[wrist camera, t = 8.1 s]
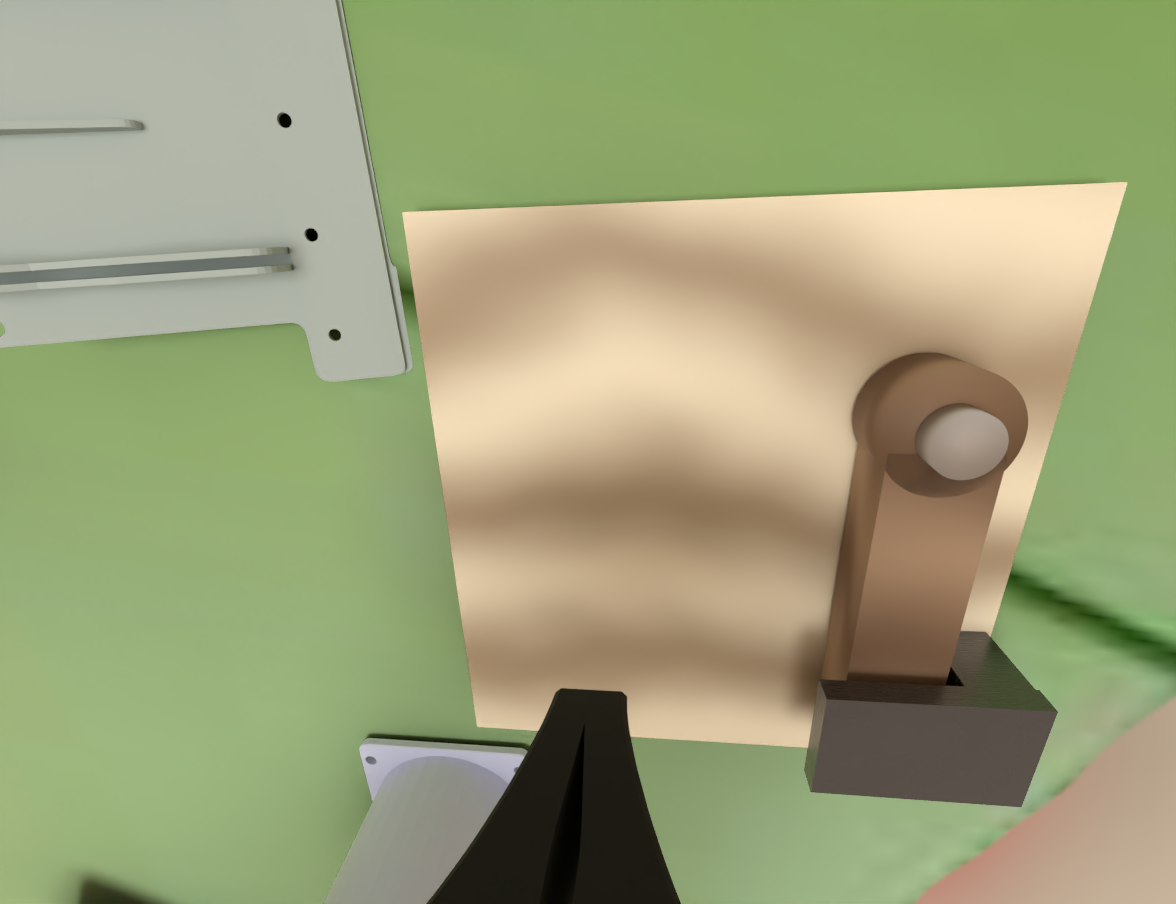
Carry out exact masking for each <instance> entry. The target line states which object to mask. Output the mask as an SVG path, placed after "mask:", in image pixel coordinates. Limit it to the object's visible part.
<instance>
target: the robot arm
mask: <svg viewBox="0 0 1176 904" xmlns="http://www.w3.org/2000/svg"><path fill="white" fill-rule="evenodd" d="M359 752H360V755H361V759H362V763H363V767H364V771H365V775H366V778H367V782H368V786H369V790H370V794H371V798H372V804H371V806H370V808H369V810H368V813H367V815H366V817H365V819H364V821H363V823H362V825H361V827H360V829H359V831H358V833H357V835H356V837H355V839H354V841H353V843H352V846H351V848H350V850H349V852H348V854H347V856H346V858H345V860H344V862H343V864H342V866H341V868H340V870H339V872H338V874H337V876H336V879H335V881H334V883H333V885H332V887H331V889H330V891H329V893H328V895H327V897H326V899H325V901H324V903H323V904H681V903H680V901H679V898H678V895H677V893H676V890H675V888H674V885H673V882H672V880H671V877H670V874H669V871H668V869H667V866H666V863H665V860H664V857H663V854H662V851H661V848H660V845H659V842H658V839H657V836H656V833H655V830H654V827H653V824H652V821H651V817H650V814H649V811H648V808H647V804H646V800H645V797H644V793H643V789H642V786H641V782H640V778H639V774H638V771H637V766H636V762H635V758H634V753H633V748H632V742H631V737H630V731H629V724H628V714H627V696H626V695H625V694H624V693H623V692H622V691H604V690H585V689H567V688H560V689H559V690H558V691H557V692H555V695H554V697H553V700H552V703H551V705H550V707H549V709H548V712H547V714H546V716H545V718H544V720H543V722H542V725H541V727H540V729H539V731H538V733H537V735H536V736H535V738H534V740H533V742H532V744H531V746H530V748H529V750H528V751H527V750H525V749H523V748H515V747H500V746H485V745H470V744H455V743H440V742H424V741H409V740H394V739H379V738H367V739H365V740H364V741H363V742H362V744H361V746H360V748H359Z"/></svg>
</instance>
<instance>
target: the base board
mask: <svg viewBox="0 0 1176 904" xmlns="http://www.w3.org/2000/svg"><path fill="white" fill-rule="evenodd" d="M1127 183H1128V182H1119V183H1095V184H1071V185H1047V186H1023V187H999V188H974V189H950V190H926V191H902V192H878V193H854V194H830V195H806V196H782V197H758V198H733V199H709V200H685V201H661V202H637V203H613V204H589V205H565V206H541V207H517V208H493V209H468V210H444V211H420V212H402V214H403V221H404V228H405V234H406V241H407V248H408V255H409V262H410V269H411V276H412V283H413V289H414V296H415V303H416V310H417V317H418V324H419V331H420V337H421V344H422V351H423V358H424V365H425V372H426V379H427V386H428V392H429V399H430V406H431V413H432V420H433V427H434V434H435V440H436V447H437V454H438V461H439V468H440V475H441V482H442V489H443V495H444V502H445V509H446V516H447V523H448V530H449V537H450V543H451V550H452V557H453V564H454V571H455V578H456V585H457V592H458V598H459V605H460V612H461V619H462V626H463V633H464V640H465V646H466V653H467V660H468V667H469V674H470V681H471V688H472V695H473V701H474V708H475V715H476V722H477V727H486V728H502V729H518V730H534V731H539V729H540V727H541V725H542V722H543V720H544V718H545V716H546V714H547V712H548V709H549V707H550V705H551V703H552V700H553V697H554V695H555V692H557V691H558V690H559V689H560V688H567V689H585V690H604V691H622V692H623V693H624V694H625V695H626V696H627V714H628V724H629V731H630V737H645V738H661V739H677V740H693V741H709V742H724V743H740V744H756V745H772V746H788V747H804V748H808V744H809V738H810V732H811V725H812V719H813V713H814V707H815V701H816V694H817V688H818V682H819V679H821V673H822V667H823V661H824V655H825V649H826V643H827V636H828V630H829V624H830V618H831V612H832V605H833V599H834V593H835V587H836V581H837V574H838V568H839V562H840V556H841V550H842V544H843V537H844V531H845V525H846V519H847V513H848V506H849V500H850V494H851V488H852V482H853V476H854V469H855V463H856V457H857V451H858V445H859V444H858V442H857V440H856V438H855V435H854V430H853V421H852V420H853V411H854V407H855V404H856V401H857V398H858V396H859V394H860V393H861V391H862V389H863V388H864V386H865V385H866V384H867V382H868V381H869V380H870V379H871V378H872V377H873V376H874V375H875V374H876V373H877V372H878V371H880V370H881V369H882V368H884V367H885V366H887V365H888V364H890V363H892V362H894V361H896V360H898V359H900V358H903V357H906V356H909V355H913V354H918V353H940V354H946V355H949V356H952V357H955V358H957V359H960V360H962V361H965V362H967V363H970V364H972V365H975V366H977V367H980V368H982V369H985V370H988V371H990V372H993V373H995V374H997V375H999V376H1001V377H1003V378H1005V379H1006V380H1008V381H1009V382H1010V383H1012V384H1013V385H1014V386H1015V387H1016V388H1017V390H1018V391H1019V393H1020V394H1021V395H1022V397H1023V399H1024V402H1025V404H1026V408H1027V412H1028V430H1027V434H1026V438H1025V441H1024V444H1023V446H1022V448H1021V450H1020V452H1019V454H1018V455H1017V457H1016V458H1015V460H1014V461H1013V462H1012V463H1011V465H1010V466H1009V467H1008V468H1007V469H1006V470H1005V471H1004V473H1003V477H1002V481H1001V484H1000V488H999V492H998V495H997V499H996V503H995V506H994V510H993V514H992V517H991V521H990V525H989V528H988V532H987V536H986V539H985V543H984V547H983V550H982V554H981V557H980V561H979V565H978V568H977V572H976V576H975V579H974V583H973V587H972V590H971V594H970V598H969V601H968V605H967V609H966V612H965V616H964V620H963V623H962V627H961V631H978V632H986V633H987V634H988V635H989V636H990V637H991V634H992V630H993V627H994V624H995V620H996V617H997V614H998V611H999V607H1000V604H1001V601H1002V597H1003V594H1004V591H1005V587H1006V584H1007V581H1008V577H1009V574H1010V571H1011V567H1012V564H1013V561H1014V557H1015V554H1016V551H1017V547H1018V544H1019V541H1020V538H1021V534H1022V531H1023V528H1024V524H1025V521H1026V518H1027V514H1028V511H1029V508H1030V504H1031V501H1032V498H1033V494H1034V491H1035V488H1036V484H1037V481H1038V478H1039V475H1040V471H1041V468H1042V465H1043V461H1044V458H1045V455H1046V451H1047V448H1048V445H1049V441H1050V438H1051V435H1052V431H1053V428H1054V425H1055V421H1056V418H1057V415H1058V411H1059V408H1060V405H1061V402H1062V398H1063V395H1064V392H1065V388H1066V385H1067V382H1068V378H1069V375H1070V372H1071V368H1072V365H1073V362H1074V358H1075V355H1076V352H1077V348H1078V345H1079V342H1080V339H1081V335H1082V332H1083V329H1084V325H1085V322H1086V319H1087V315H1088V312H1089V309H1090V305H1091V302H1092V299H1093V295H1094V292H1095V289H1096V285H1097V282H1098V279H1099V276H1100V272H1101V269H1102V266H1103V262H1104V259H1105V256H1106V252H1107V249H1108V246H1109V242H1110V239H1111V236H1112V232H1113V229H1114V226H1115V222H1116V219H1117V216H1118V212H1119V209H1120V206H1121V203H1122V199H1123V196H1124V193H1125V189H1126V186H1127Z"/></svg>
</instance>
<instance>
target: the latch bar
mask: <svg viewBox="0 0 1176 904" xmlns="http://www.w3.org/2000/svg"><path fill="white" fill-rule="evenodd" d="M852 421H853V430H854V435H855V438H856V440H857V442H858V444H859V445H858V451H857V457H856V463H855V469H854V476H853V482H852V488H851V494H850V500H849V506H848V513H847V519H846V525H845V531H844V537H843V544H842V550H841V556H840V562H839V568H838V574H837V581H836V587H835V593H834V599H833V605H832V612H831V618H830V624H829V630H828V636H827V643H826V649H825V655H824V661H823V667H822V673H821V679H824V680H844V681H864V682H884V683H904V684H924V685H944V686H946V682H947V678H948V675H949V671H950V667H951V664H952V660H953V656H954V653H955V649H956V645H957V642H958V638H959V634H960V631H961V627H962V623H963V620H964V616H965V612H966V609H967V605H968V601H969V598H970V594H971V590H972V587H973V583H974V579H975V576H976V572H977V568H978V565H979V561H980V557H981V554H982V550H983V547H984V543H985V539H986V536H987V532H988V528H989V525H990V521H991V517H992V514H993V510H994V506H995V503H996V499H997V495H998V492H999V488H1000V484H1001V481H1002V477H1003V473H1004V471H1005V470H1006V469H1007V468H1008V467H1009V466H1010V465H1011V463H1012V462H1013V461H1014V460H1015V458H1016V457H1017V455H1018V454H1019V452H1020V450H1021V448H1022V446H1023V444H1024V441H1025V438H1026V434H1027V430H1028V412H1027V408H1026V404H1025V402H1024V399H1023V397H1022V395H1021V394H1020V393H1019V391H1018V390H1017V388H1016V387H1015V386H1014V385H1013V384H1012V383H1010V382H1009V381H1008V380H1006V379H1005V378H1003V377H1001V376H999V375H997V374H995V373H993V372H990V371H988V370H985V369H982V368H980V367H977V366H975V365H972V364H970V363H967V362H965V361H962V360H960V359H957V358H955V357H952V356H949V355H946V354H940V353H918V354H913V355H909V356H906V357H903V358H900V359H898V360H896V361H894V362H892V363H890V364H888V365H887V366H885V367H884V368H882V369H881V370H880V371H878V372H877V373H876V374H875V375H874V376H873V377H872V378H871V379H870V380H869V381H868V382H867V384H866V385H865V386H864V388H863V389H862V391H861V393H860V394H859V396H858V398H857V401H856V404H855V407H854V411H853V420H852Z"/></svg>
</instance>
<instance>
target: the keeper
mask: <svg viewBox="0 0 1176 904" xmlns="http://www.w3.org/2000/svg"><path fill="white" fill-rule="evenodd" d="M1057 713H1058V711H1057V710H1056V709H1055V708H1054V707H1053V706H1052V704H1051V703H1050V702H1049V701H1048V700H1047V699H1046V698H1045V696H1044V695H1043V694H1042V693H1041V692H1040V691H1039V690H1035V689H1034V688H1033V686H1032V685H1031V684H1030V683H1029V682H1028V681H1027V679H1026V678H1025V677H1024V676H1023V675H1022V674H1021V672H1020V671H1019V670H1018V669H1017V668H1016V667H1015V665H1014V664H1013V663H1012V662H1011V661H1010V660H1009V658H1008V657H1007V656H1006V655H1005V654H1004V653H1003V651H1002V650H1001V649H1000V648H999V647H998V645H997V644H996V643H995V642H994V641H993V640H992V638H991V637H990V636H989V635H988V634H987V633H986V632H978V631H960V634H959V638H958V642H957V645H956V649H955V653H954V656H953V660H952V664H951V667H950V671H949V675H948V678H947V682H946V686H944V685H924V684H904V683H884V682H864V681H844V680H824V679H819V682H818V688H817V694H816V701H815V707H814V713H813V719H812V725H811V732H810V738H809V744H808V750H807V756H806V763H805V769H804V770H805V774H806V777H807V781H808V784H809V787H810V791H811V792H817V793H831V794H845V795H859V796H873V797H887V798H901V799H915V800H929V801H943V802H957V803H971V804H985V805H999V806H1013V807H1022V804H1023V801H1024V799H1025V796H1026V794H1027V791H1028V788H1029V786H1030V783H1031V780H1032V778H1033V775H1034V773H1035V770H1036V767H1037V765H1038V762H1039V760H1040V757H1041V754H1042V752H1043V749H1044V747H1045V744H1046V741H1047V739H1048V736H1049V733H1050V731H1051V728H1052V726H1053V723H1054V720H1055V718H1056V715H1057Z"/></svg>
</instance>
